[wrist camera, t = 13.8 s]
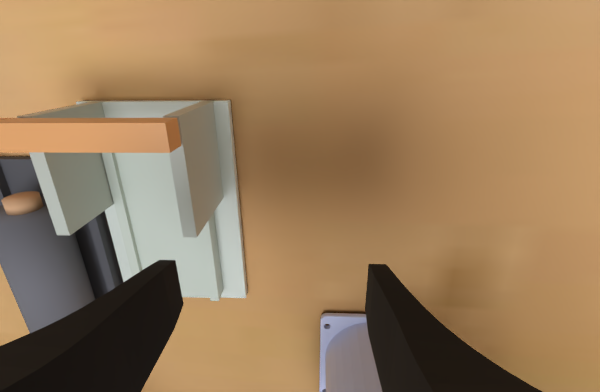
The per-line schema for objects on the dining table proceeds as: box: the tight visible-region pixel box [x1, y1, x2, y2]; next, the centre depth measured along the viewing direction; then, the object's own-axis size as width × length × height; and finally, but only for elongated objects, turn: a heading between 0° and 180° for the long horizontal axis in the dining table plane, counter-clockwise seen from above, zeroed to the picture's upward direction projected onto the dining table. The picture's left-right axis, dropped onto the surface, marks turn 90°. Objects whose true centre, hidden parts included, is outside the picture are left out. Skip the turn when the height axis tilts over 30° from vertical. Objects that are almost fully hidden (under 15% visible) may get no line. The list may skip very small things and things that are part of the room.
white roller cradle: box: [17, 100, 248, 301], centre depth 20 cm, size 14×9×6 cm, turn 1°
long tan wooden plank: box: [0, 118, 181, 153], centre depth 14 cm, size 1×9×1 cm, turn 91°
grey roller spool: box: [0, 191, 96, 333], centre depth 22 cm, size 11×4×4 cm, turn 1°
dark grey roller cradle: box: [0, 157, 123, 299], centre depth 23 cm, size 12×6×1 cm, turn 1°
